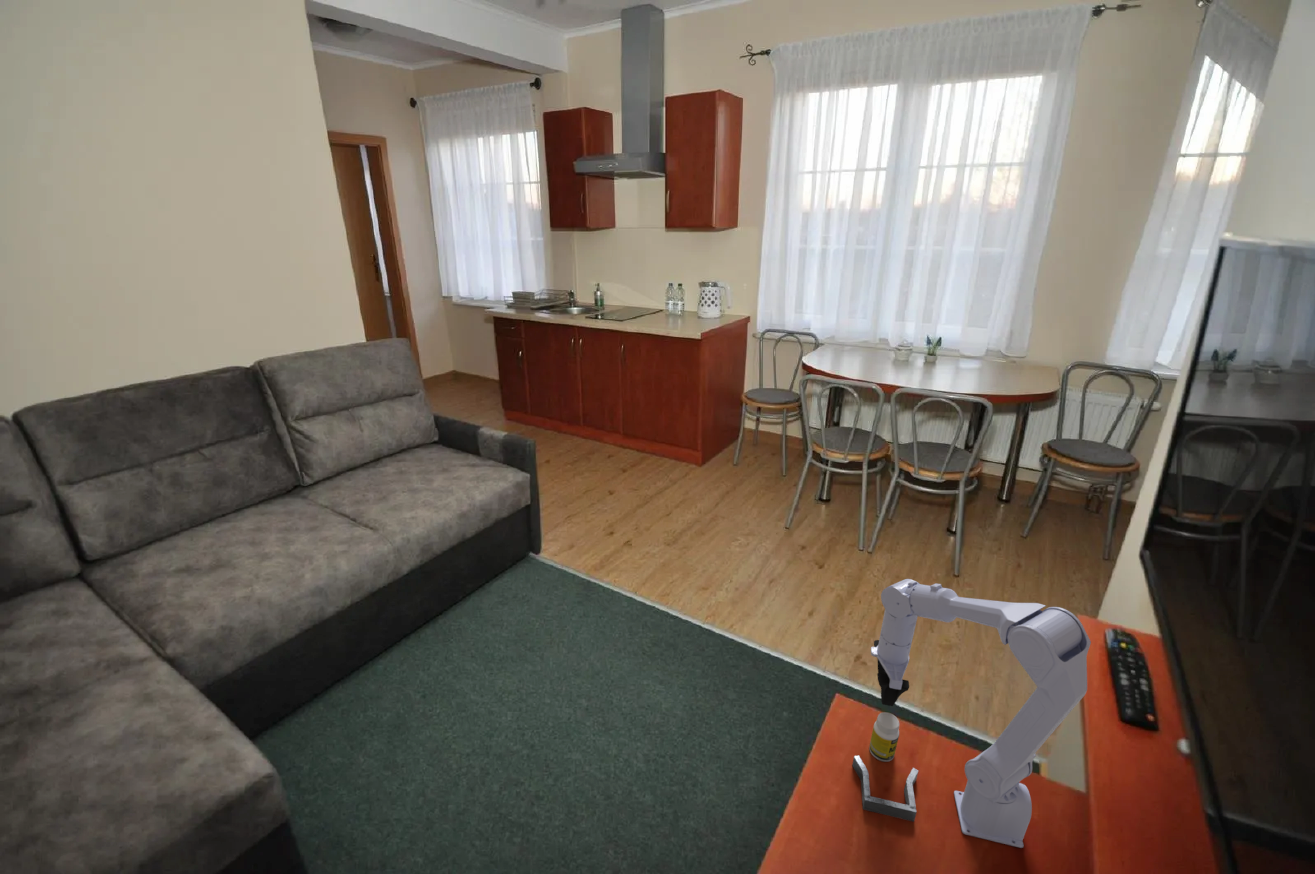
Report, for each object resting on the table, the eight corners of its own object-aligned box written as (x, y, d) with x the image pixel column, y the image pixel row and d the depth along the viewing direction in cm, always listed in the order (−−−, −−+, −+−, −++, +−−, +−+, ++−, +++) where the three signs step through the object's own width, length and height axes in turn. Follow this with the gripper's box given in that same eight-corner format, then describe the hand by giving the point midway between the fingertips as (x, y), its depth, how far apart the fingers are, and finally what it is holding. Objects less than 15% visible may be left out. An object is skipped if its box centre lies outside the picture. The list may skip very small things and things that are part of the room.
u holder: (915, 777, 110) (918, 768, 109) (923, 824, 102) (925, 814, 101) (852, 763, 113) (853, 754, 112) (854, 807, 105) (856, 797, 104)
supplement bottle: (890, 767, 112) (897, 735, 109) (865, 753, 115) (871, 722, 111) (897, 749, 116) (904, 718, 112) (873, 737, 118) (879, 706, 115)
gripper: (871, 608, 120) (862, 659, 125) (877, 658, 107) (867, 713, 112) (908, 614, 118) (897, 666, 123) (918, 666, 105) (906, 721, 110)
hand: (885, 689), depth 118 cm, fingers open, 7 cm apart
